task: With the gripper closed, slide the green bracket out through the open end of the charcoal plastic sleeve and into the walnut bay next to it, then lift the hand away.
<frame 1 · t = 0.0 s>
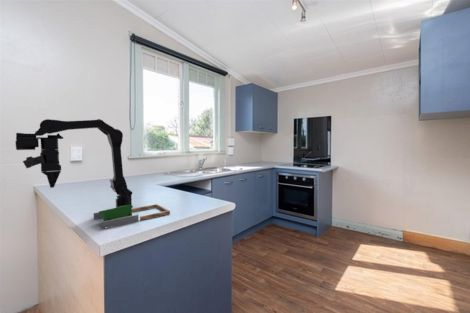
hand: (51, 186, 96), 15 cm above the worktop, tool pointing down, fingers open, 9 cm apart
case: (115, 219, 96), on the worktop
green bracket: (115, 220, 96), on the worktop
bay: (149, 212, 106), on the worktop
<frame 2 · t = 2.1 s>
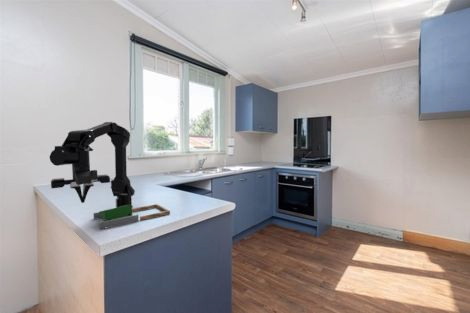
hand: (82, 202, 88), 9 cm above the worktop, tool pointing down, fingers closed
nothing on the worktop moved.
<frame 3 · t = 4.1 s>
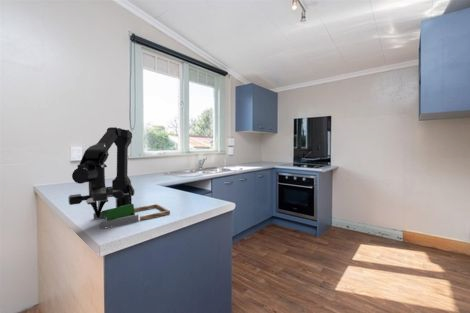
hand: (97, 217, 92), 3 cm above the worktop, tool pointing down, fingers closed
green bracket: (118, 219, 97), on the worktop, touching gripper
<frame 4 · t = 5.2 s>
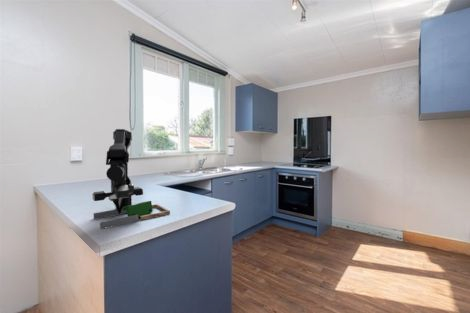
hand: (119, 213, 97), 3 cm above the worktop, tool pointing down, fingers closed
green bracket: (137, 215, 102), on the worktop, touching gripper
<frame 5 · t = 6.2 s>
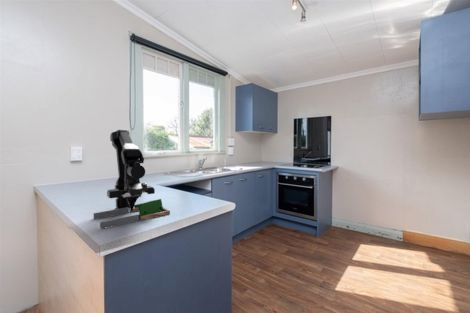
hand: (131, 210, 100), 3 cm above the worktop, tool pointing down, fingers closed
green bracket: (148, 213, 105), on the worktop, touching bay, gripper
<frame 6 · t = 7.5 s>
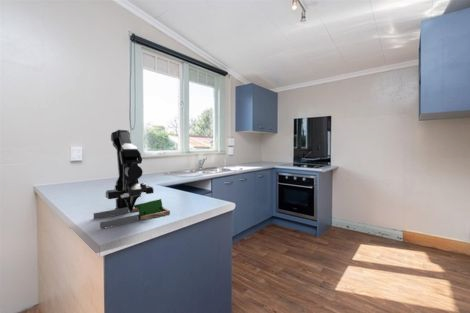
hand: (130, 211, 100), 3 cm above the worktop, tool pointing down, fingers closed
green bracket: (148, 213, 105), on the worktop
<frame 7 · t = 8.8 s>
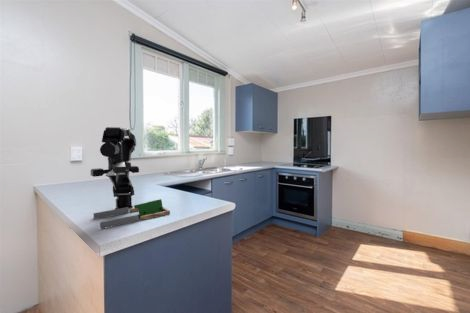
hand: (116, 189, 102), 12 cm above the worktop, tool pointing down, fingers closed
nothing on the worktop moved.
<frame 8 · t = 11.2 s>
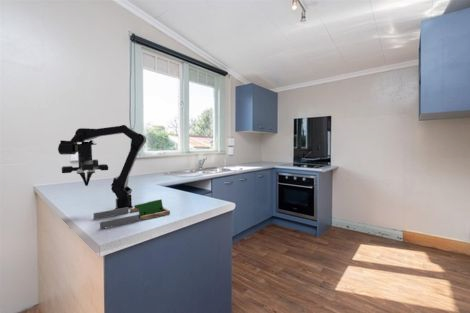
hand: (86, 185, 111), 12 cm above the worktop, tool pointing down, fingers closed
nothing on the worktop moved.
at the end: green bracket inside the target area (0.8 cm from its centre), on the worktop; green bracket moved 14.0 cm from its start; the gripper is holding nothing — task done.
